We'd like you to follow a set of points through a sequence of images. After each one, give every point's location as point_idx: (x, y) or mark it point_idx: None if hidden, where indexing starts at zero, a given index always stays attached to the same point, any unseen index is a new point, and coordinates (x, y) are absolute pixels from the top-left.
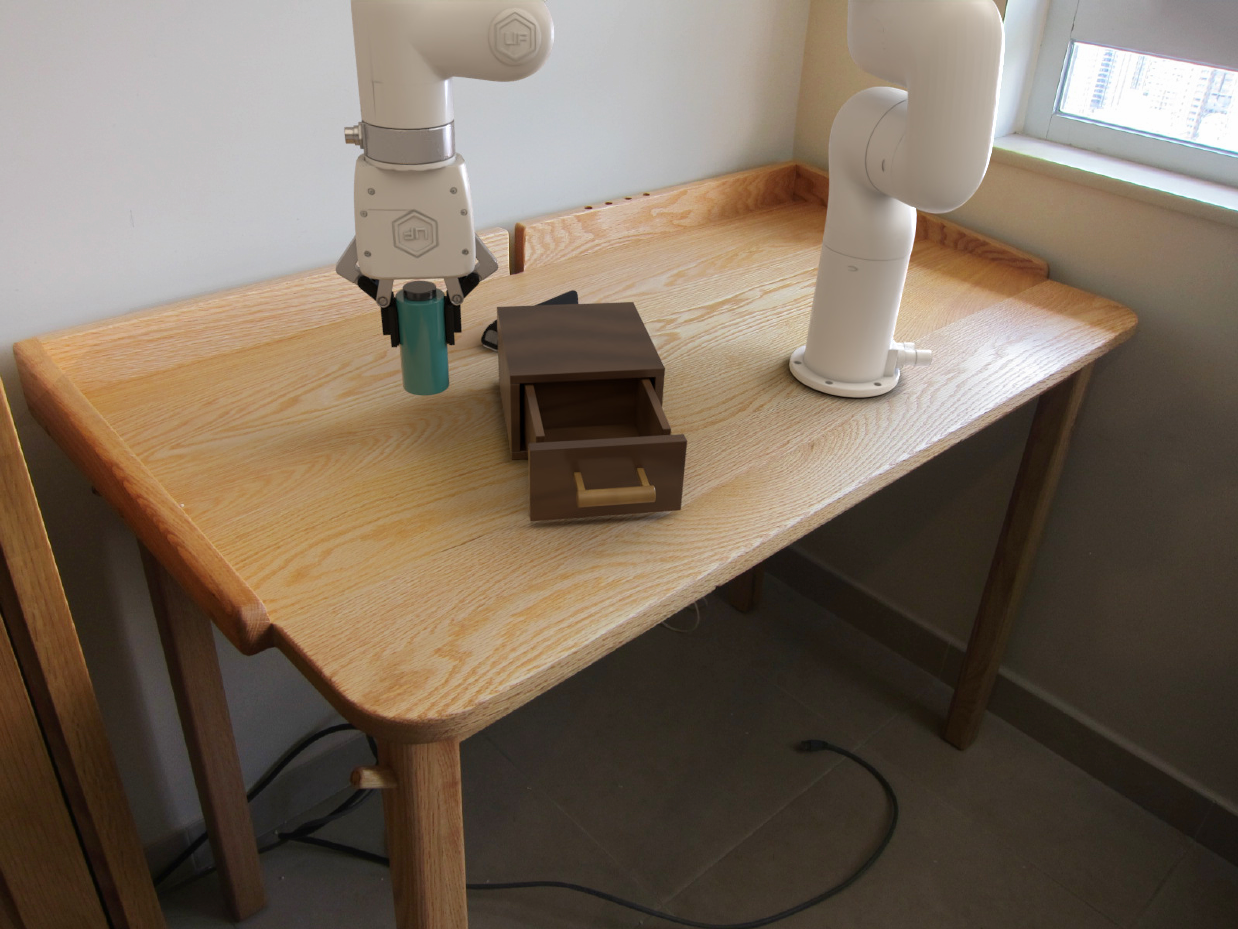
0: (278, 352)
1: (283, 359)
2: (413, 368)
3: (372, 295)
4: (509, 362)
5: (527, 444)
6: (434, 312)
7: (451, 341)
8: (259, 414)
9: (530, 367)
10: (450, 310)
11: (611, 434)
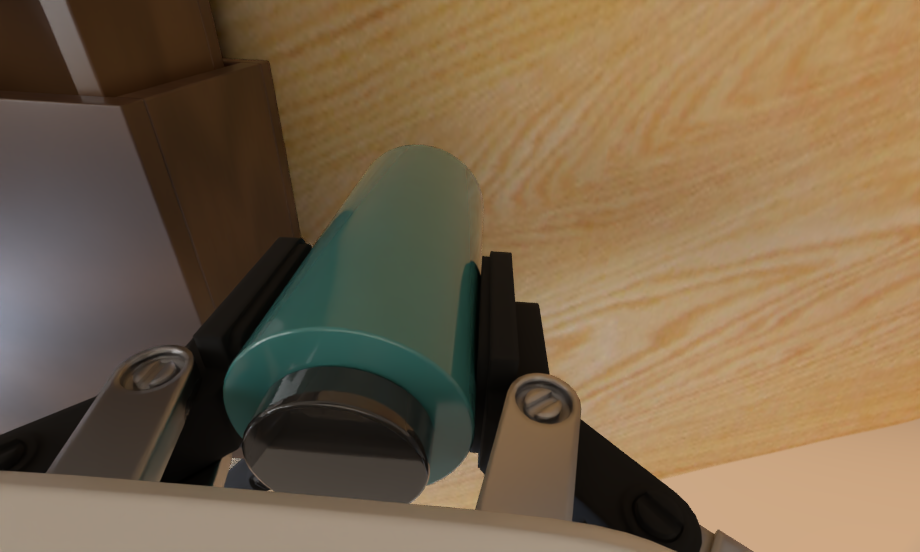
0: (652, 456)
1: (649, 440)
2: (444, 187)
3: (595, 444)
4: (148, 198)
5: (191, 16)
6: (284, 303)
7: (287, 242)
8: (730, 308)
9: (69, 154)
10: (217, 322)
11: (14, 60)
